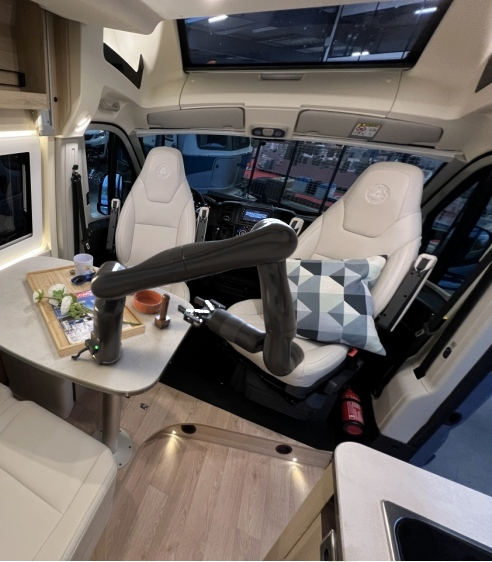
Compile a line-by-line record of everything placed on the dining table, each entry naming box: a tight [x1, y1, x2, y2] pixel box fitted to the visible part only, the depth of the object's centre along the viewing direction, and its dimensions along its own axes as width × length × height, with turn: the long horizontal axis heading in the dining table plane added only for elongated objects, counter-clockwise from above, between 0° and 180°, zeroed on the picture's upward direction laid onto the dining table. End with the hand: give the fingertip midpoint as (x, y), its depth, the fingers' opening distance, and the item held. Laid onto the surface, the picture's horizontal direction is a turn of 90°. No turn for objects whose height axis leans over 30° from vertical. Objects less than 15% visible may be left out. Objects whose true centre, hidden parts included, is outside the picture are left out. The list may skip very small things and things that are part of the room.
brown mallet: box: [153, 293, 172, 330], centre depth 109 cm, size 5×4×14 cm
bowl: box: [132, 289, 163, 315], centre depth 122 cm, size 12×12×4 cm
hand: (187, 302), depth 98 cm, fingers open, 8 cm apart
